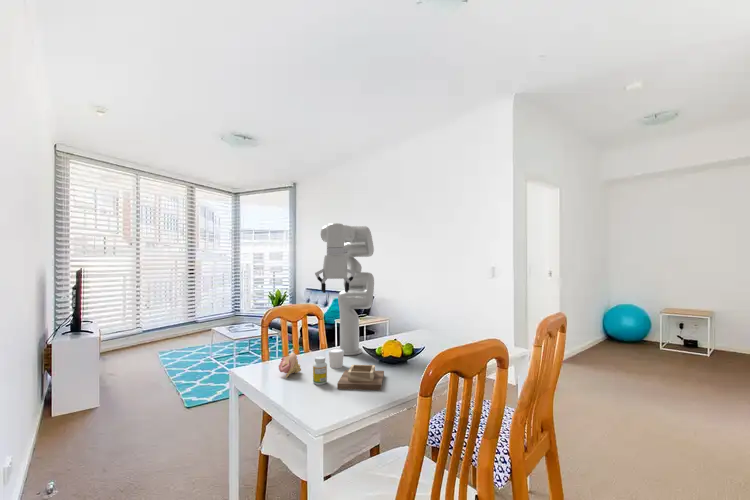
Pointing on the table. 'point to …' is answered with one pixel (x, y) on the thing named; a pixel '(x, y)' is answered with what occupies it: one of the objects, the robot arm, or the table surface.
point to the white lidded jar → (336, 358)
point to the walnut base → (361, 378)
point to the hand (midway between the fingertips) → (335, 292)
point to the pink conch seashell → (289, 364)
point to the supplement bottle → (320, 371)
